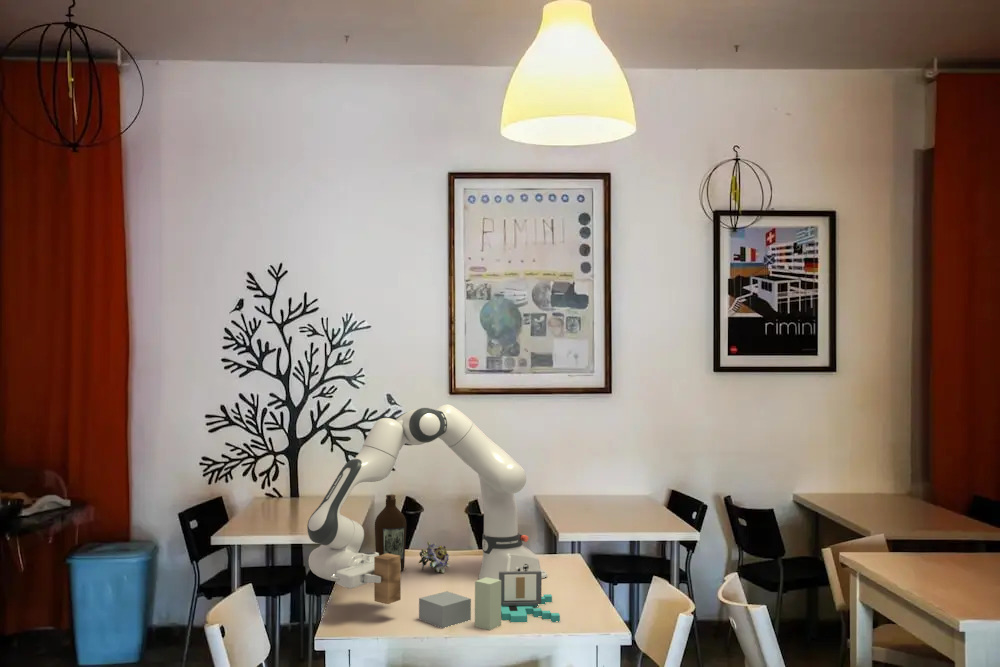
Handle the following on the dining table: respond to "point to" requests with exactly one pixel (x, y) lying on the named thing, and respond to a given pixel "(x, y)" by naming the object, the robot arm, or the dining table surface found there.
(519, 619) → the alien figure
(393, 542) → the olive oil
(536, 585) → the grey picture frame
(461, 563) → the dining table surface
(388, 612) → the dining table surface
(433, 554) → the passion flower
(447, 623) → the slate base block
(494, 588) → the sage block
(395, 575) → the walnut block
